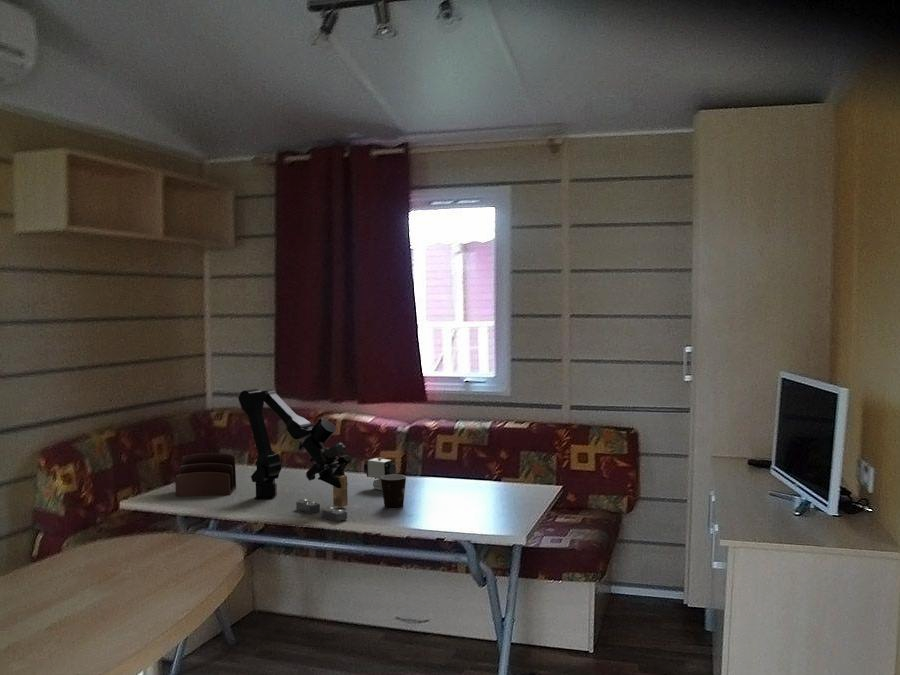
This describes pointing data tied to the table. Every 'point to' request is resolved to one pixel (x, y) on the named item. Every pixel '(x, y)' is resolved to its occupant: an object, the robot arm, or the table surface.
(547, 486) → the table surface
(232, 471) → the letter holder
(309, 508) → the chain ends
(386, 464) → the pneumatic valve
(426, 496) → the table surface
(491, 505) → the table surface
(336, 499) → the tall brown post
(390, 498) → the coffee mug
